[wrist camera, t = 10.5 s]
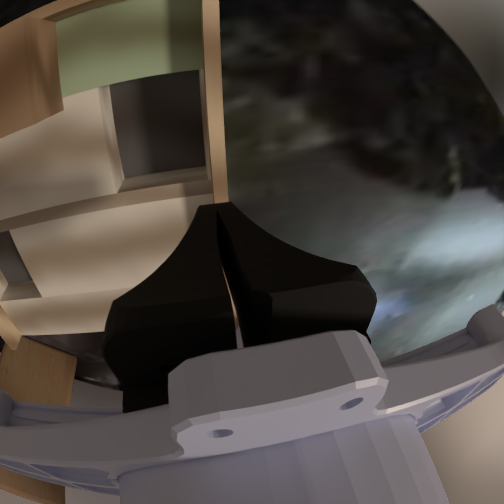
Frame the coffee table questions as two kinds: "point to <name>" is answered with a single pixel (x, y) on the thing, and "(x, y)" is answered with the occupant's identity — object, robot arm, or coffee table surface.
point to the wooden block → (35, 391)
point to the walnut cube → (28, 74)
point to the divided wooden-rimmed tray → (110, 161)
